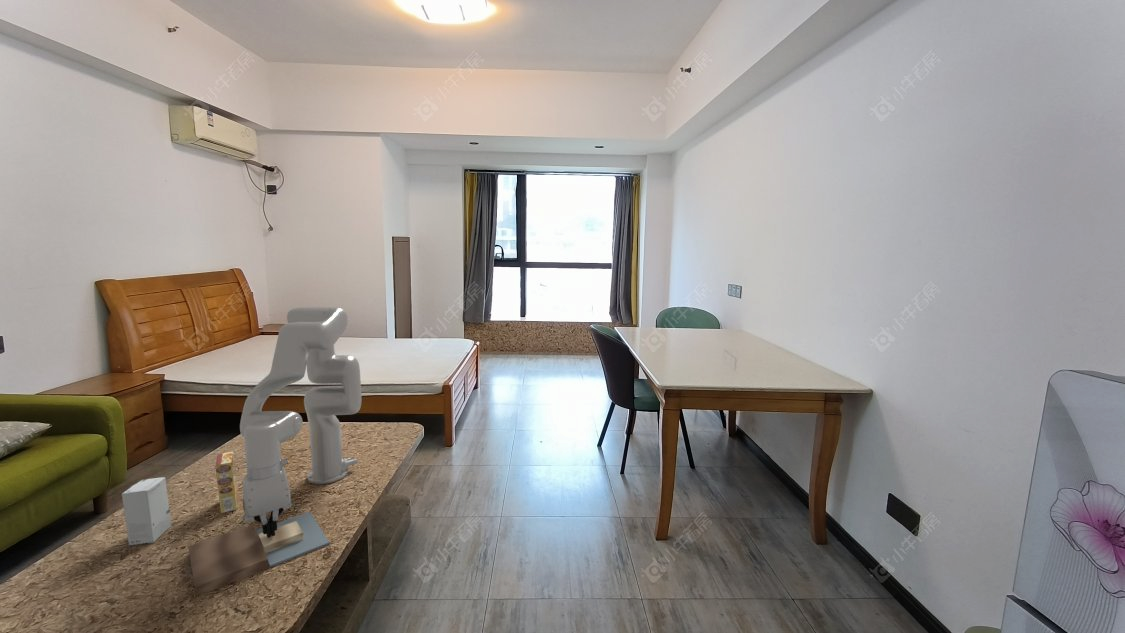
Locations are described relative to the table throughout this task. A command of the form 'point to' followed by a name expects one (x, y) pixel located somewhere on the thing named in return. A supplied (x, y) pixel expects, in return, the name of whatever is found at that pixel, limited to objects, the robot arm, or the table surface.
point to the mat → (310, 542)
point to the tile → (281, 537)
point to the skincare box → (146, 510)
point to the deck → (226, 559)
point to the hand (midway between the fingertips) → (270, 534)
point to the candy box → (226, 482)
